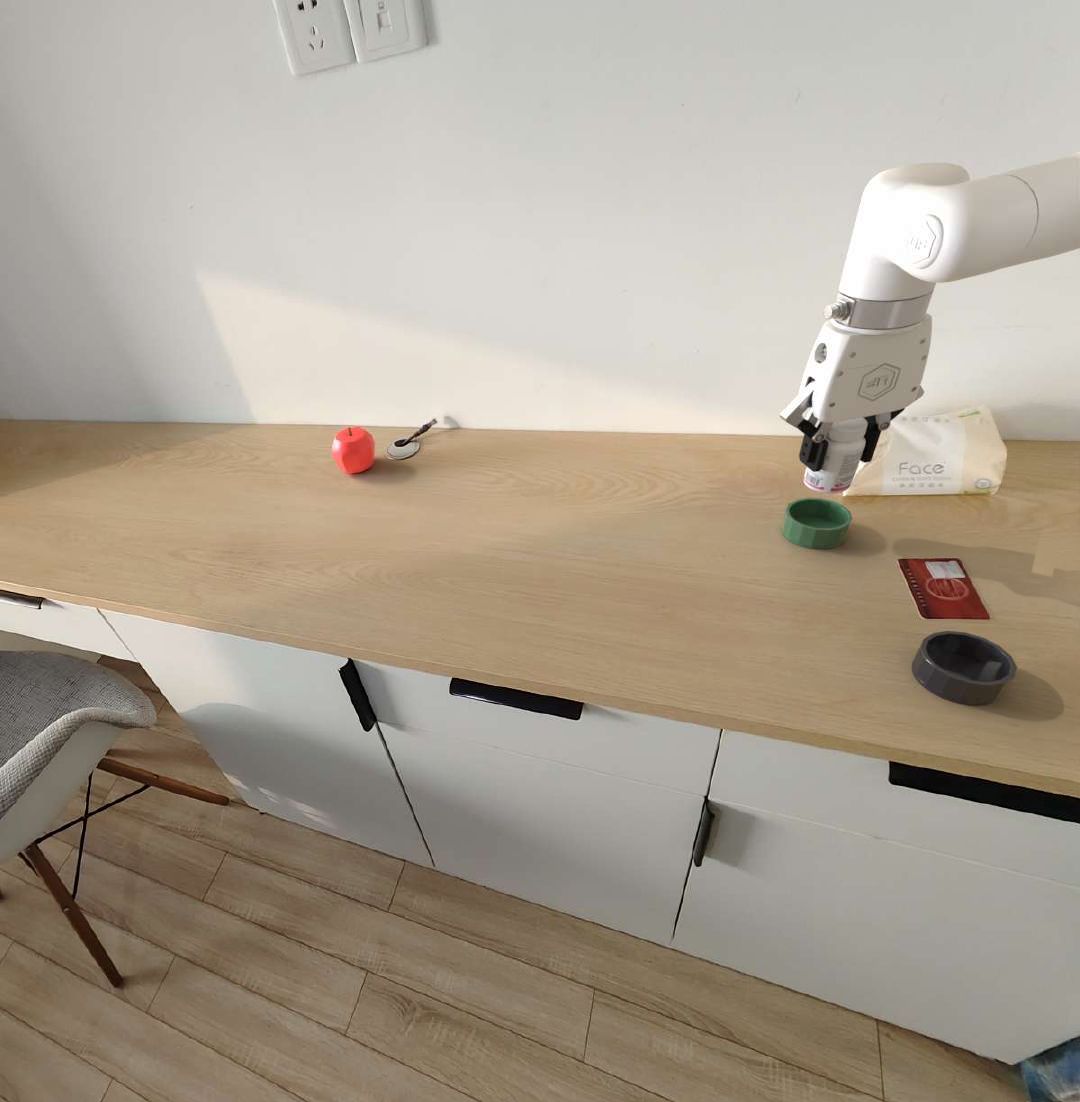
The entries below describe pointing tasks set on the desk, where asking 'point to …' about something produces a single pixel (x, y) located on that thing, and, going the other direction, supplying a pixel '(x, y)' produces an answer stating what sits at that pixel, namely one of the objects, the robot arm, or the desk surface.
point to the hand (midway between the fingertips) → (834, 459)
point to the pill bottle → (839, 457)
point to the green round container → (816, 523)
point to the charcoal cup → (963, 668)
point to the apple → (353, 450)
